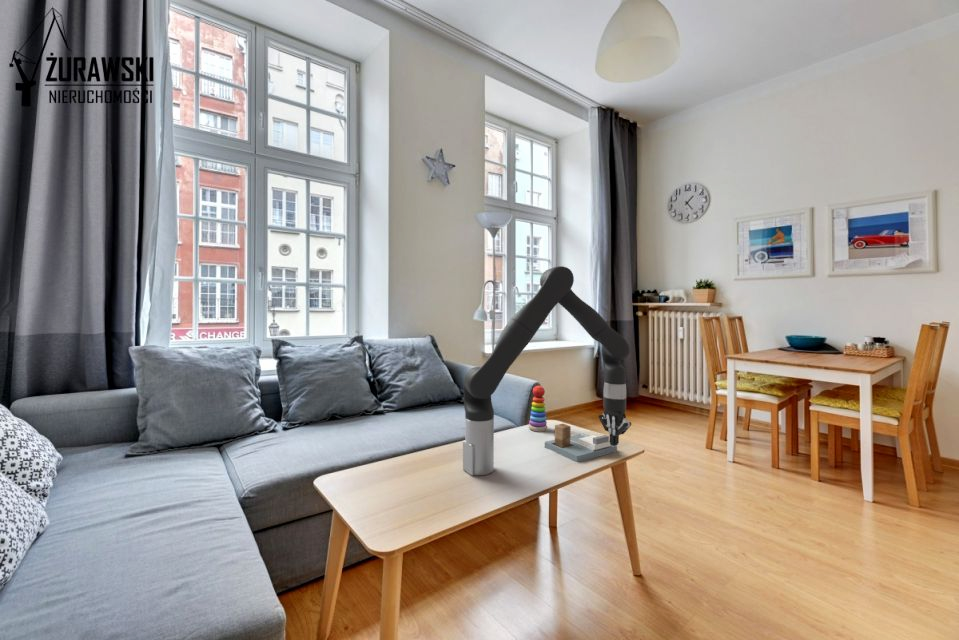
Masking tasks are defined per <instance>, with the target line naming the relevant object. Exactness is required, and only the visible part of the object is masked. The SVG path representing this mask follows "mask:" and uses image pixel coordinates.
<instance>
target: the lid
mask: <svg viewBox="0 0 959 640" xmlns="http://www.w3.org/2000/svg"><path fill="white" fill-rule="evenodd" d="M609 437H610V435H607V434H604V435H599V436H596V435H594V434H593V435H589V436H588V437H584V438H579V439H578V443H579V444H582V445H584V446H587V447H589V448H592V449H594V450H597V449H601V448H605V447H609V446H610V441H609V440H610V439H609Z"/></svg>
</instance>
